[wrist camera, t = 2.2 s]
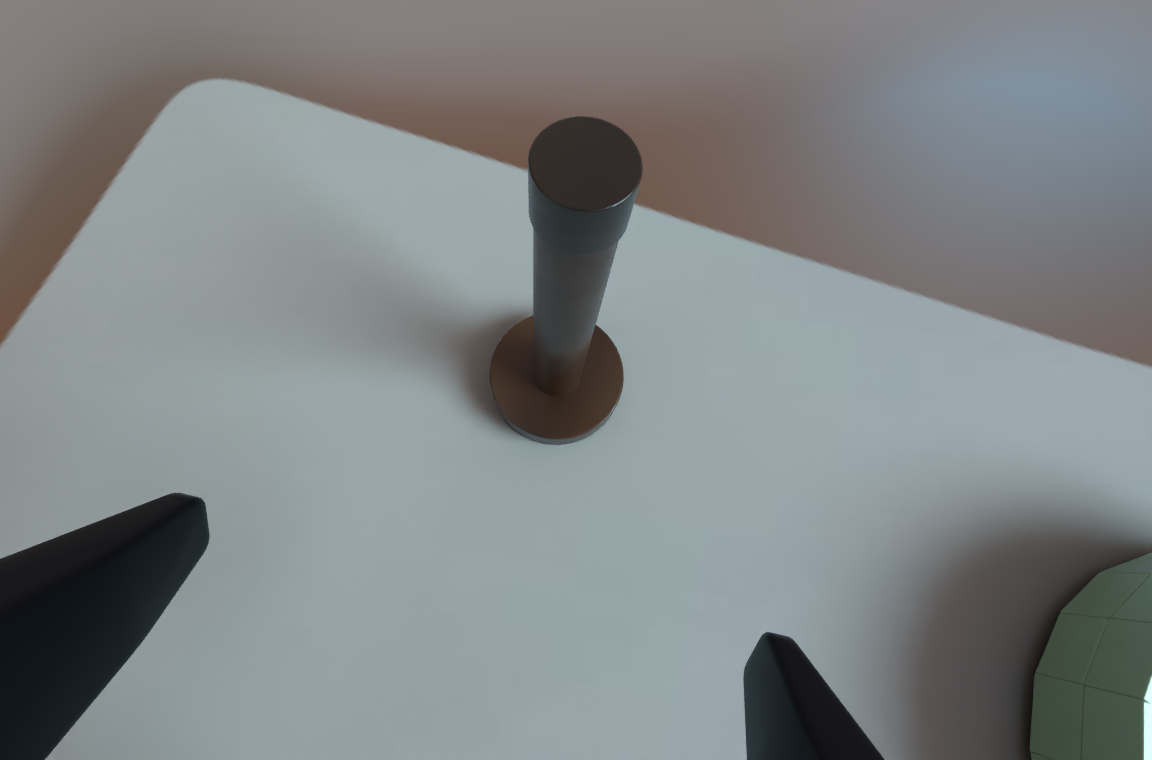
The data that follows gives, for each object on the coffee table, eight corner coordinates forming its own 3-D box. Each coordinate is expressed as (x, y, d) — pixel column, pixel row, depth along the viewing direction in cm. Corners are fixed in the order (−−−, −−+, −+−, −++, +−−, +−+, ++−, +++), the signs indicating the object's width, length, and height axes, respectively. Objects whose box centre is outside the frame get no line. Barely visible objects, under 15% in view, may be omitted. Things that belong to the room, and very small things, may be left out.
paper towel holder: (471, 417, 23) (384, 230, 9) (519, 306, 25) (504, 14, 11) (595, 463, 23) (684, 338, 9) (635, 347, 24) (759, 101, 11)
